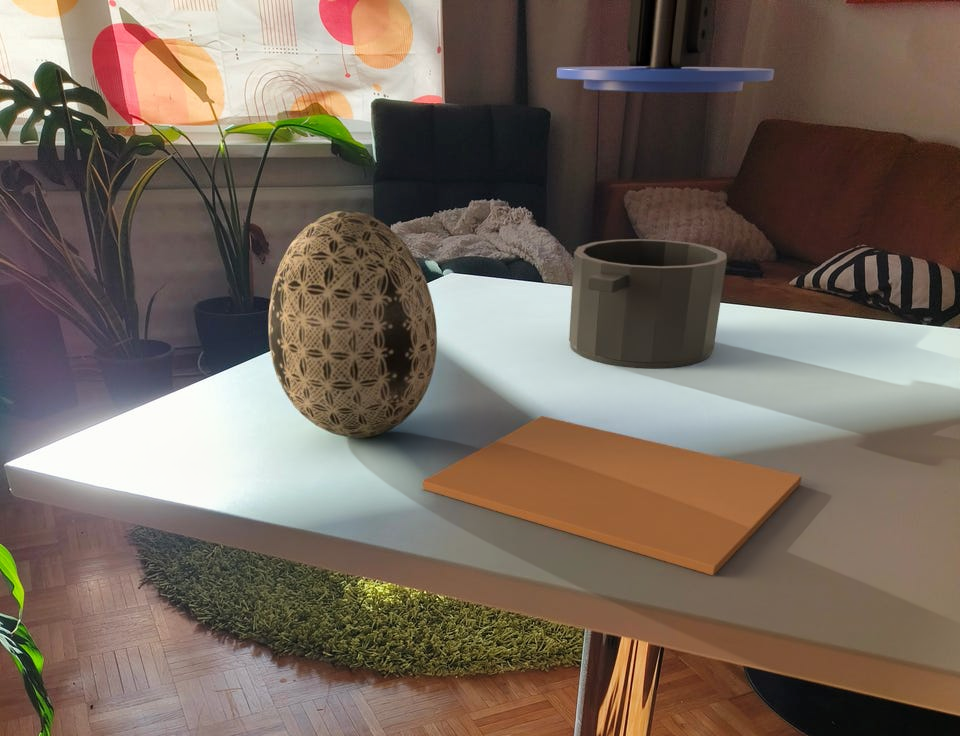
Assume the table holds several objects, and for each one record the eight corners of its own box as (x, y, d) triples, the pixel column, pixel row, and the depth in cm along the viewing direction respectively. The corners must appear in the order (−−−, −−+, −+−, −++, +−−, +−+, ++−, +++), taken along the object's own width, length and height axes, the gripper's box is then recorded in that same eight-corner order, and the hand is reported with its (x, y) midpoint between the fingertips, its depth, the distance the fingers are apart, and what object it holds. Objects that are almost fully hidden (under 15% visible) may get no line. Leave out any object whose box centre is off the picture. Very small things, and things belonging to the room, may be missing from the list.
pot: (743, 336, 89) (758, 245, 84) (663, 385, 76) (676, 280, 71) (621, 316, 96) (629, 230, 91) (528, 358, 82) (532, 260, 78)
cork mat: (800, 484, 59) (802, 475, 59) (713, 576, 49) (715, 566, 48) (541, 423, 68) (541, 415, 68) (422, 489, 58) (422, 480, 58)
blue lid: (801, 88, 63) (821, -30, 59) (720, 95, 53) (738, -46, 49) (617, 83, 70) (625, -23, 66) (515, 89, 60) (518, -35, 56)
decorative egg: (254, 426, 67) (224, 208, 59) (387, 397, 73) (376, 194, 65) (327, 476, 60) (303, 233, 51) (470, 439, 65) (469, 215, 57)
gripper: (865, -328, 49) (798, 67, 60) (608, -278, 57) (588, 64, 67) (823, -371, 44) (758, 69, 54) (547, -310, 52) (535, 65, 62)
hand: (664, 63), depth 61 cm, fingers closed on blue lid, 2 cm apart
